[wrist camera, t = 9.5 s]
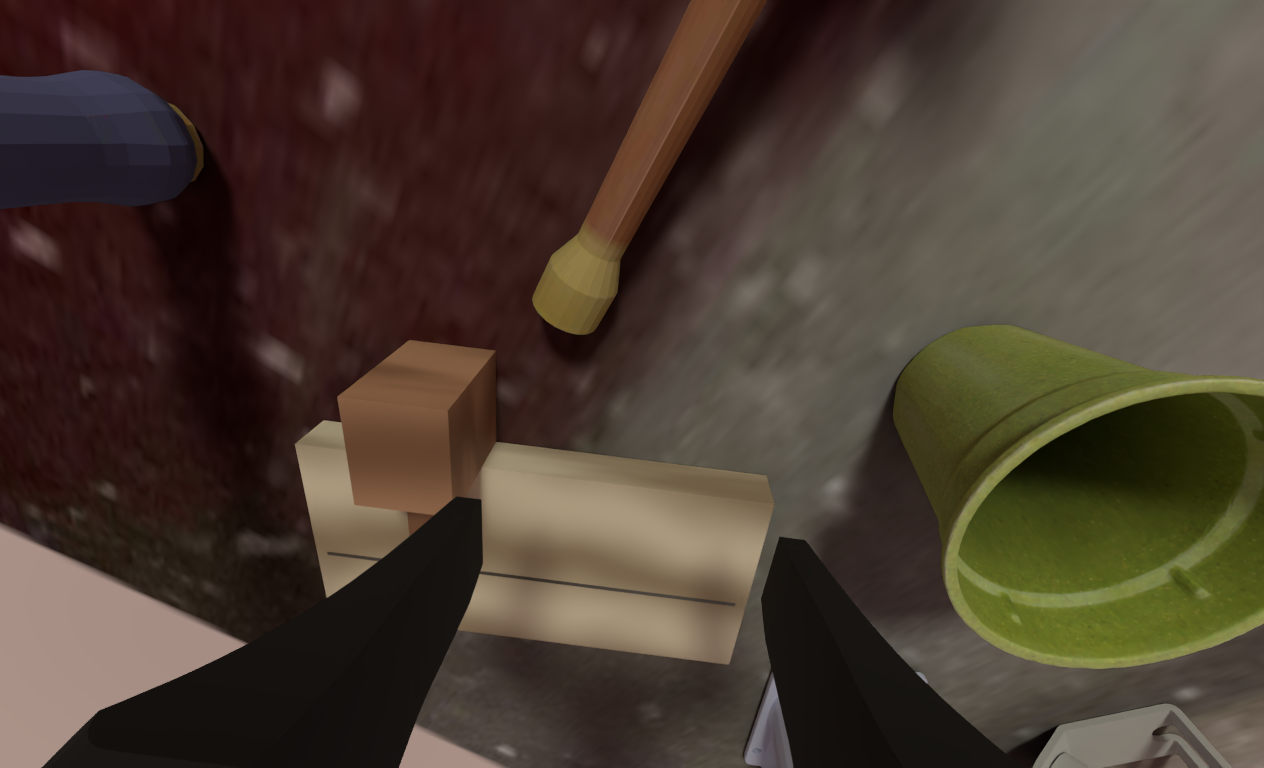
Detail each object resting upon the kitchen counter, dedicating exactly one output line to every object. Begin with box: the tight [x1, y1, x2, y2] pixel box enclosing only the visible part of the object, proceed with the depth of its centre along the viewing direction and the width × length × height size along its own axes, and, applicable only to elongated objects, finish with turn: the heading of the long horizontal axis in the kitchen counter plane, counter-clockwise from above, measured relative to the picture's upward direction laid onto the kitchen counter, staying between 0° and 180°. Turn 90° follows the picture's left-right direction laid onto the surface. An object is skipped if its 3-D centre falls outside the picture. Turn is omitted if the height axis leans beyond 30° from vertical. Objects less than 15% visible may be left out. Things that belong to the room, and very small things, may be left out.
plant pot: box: [893, 325, 1264, 669], centre depth 17 cm, size 9×9×9 cm
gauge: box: [338, 340, 496, 536], centre depth 22 cm, size 11×4×5 cm, turn 174°
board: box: [295, 420, 775, 665], centre depth 24 cm, size 10×20×2 cm, turn 84°
